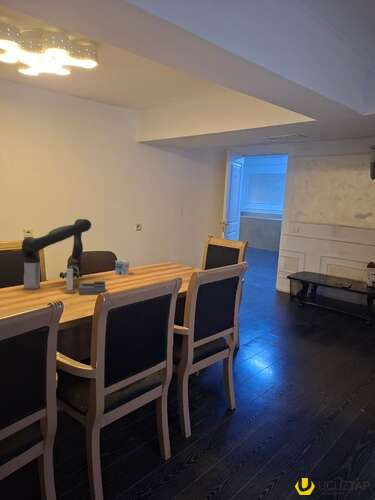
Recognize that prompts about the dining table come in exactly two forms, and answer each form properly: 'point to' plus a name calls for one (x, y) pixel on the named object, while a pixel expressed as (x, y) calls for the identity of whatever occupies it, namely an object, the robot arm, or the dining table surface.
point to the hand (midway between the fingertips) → (70, 277)
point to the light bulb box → (122, 267)
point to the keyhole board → (92, 288)
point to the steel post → (69, 282)
